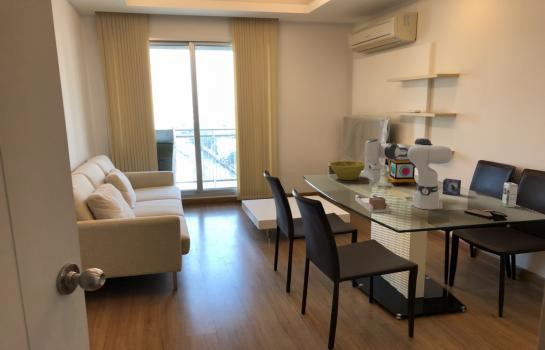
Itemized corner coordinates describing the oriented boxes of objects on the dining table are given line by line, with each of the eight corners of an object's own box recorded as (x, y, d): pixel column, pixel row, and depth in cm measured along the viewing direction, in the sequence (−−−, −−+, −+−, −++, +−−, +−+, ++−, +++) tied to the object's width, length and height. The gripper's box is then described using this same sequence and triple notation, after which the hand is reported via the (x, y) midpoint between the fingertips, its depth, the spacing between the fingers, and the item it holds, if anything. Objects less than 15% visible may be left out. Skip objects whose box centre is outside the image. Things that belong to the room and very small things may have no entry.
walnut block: (369, 206, 246) (369, 197, 245) (381, 206, 247) (381, 197, 246) (372, 209, 240) (372, 200, 239) (385, 208, 241) (385, 199, 240)
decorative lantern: (418, 186, 304) (420, 148, 298) (392, 186, 304) (393, 148, 299) (409, 181, 324) (411, 145, 318) (385, 181, 324) (386, 145, 318)
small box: (441, 194, 279) (442, 179, 277) (445, 192, 284) (446, 178, 282) (457, 196, 272) (458, 181, 270) (460, 194, 277) (461, 179, 275)
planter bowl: (324, 176, 353) (325, 161, 350) (359, 174, 356) (359, 159, 354) (334, 183, 321) (334, 167, 319) (372, 181, 325) (372, 165, 322)
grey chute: (355, 200, 268) (355, 194, 267) (372, 199, 269) (372, 193, 268) (370, 212, 239) (370, 205, 238) (389, 211, 240) (389, 204, 239)
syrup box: (501, 204, 248) (503, 182, 245) (510, 204, 248) (512, 182, 245) (506, 207, 243) (508, 184, 240) (516, 207, 242) (518, 184, 240)
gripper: (361, 162, 260) (361, 182, 262) (372, 167, 240) (372, 189, 242) (371, 161, 260) (370, 182, 263) (382, 166, 240) (381, 188, 243)
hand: (371, 185), depth 252 cm, fingers closed
